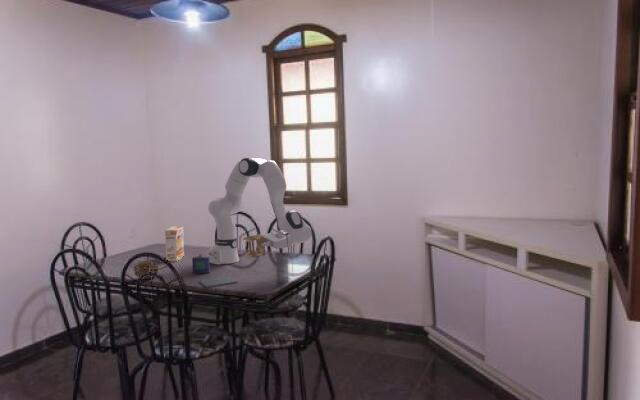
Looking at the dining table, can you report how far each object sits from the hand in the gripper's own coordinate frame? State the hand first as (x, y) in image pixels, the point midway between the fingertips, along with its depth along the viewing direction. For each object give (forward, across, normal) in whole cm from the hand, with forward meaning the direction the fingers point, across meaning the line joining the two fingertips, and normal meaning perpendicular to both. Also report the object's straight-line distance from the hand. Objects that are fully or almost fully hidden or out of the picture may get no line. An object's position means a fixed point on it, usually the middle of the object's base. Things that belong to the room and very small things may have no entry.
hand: (258, 243), depth 237 cm
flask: (+23, -31, +19) cm, 43 cm away
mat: (+21, -8, +18) cm, 29 cm away
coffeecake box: (+27, -73, +20) cm, 80 cm away
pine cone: (+47, -36, +17) cm, 62 cm away
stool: (+3, 0, +6) cm, 7 cm away
